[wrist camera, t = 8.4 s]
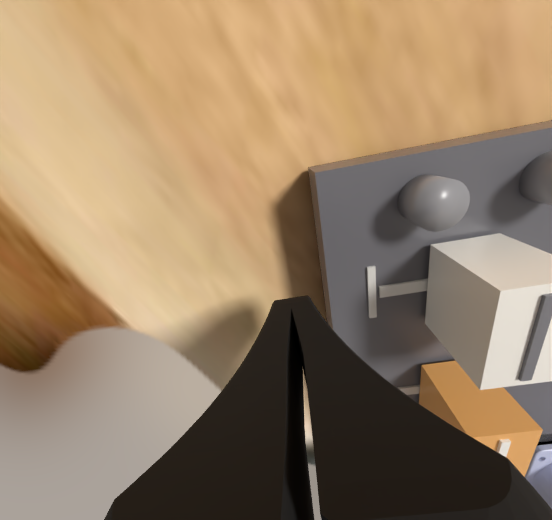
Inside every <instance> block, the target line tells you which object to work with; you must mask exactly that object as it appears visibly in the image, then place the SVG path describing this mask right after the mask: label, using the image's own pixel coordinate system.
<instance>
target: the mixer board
mask: <svg viewBox="0 0 552 520" xmlns="http://www.w3.org/2000/svg"><path fill="white" fill-rule="evenodd" d="M308 171H309V179H310V187H311V195H312V203H313V211H314V219H315V227H316V236H317V244H318V252H319V260H320V268H321V276H322V284H323V292H324V300H325V308H326V316H327V323H328V324H329V326H330V327H331V328H332V329H333V330H334V332H335V333H336V334H337V335H338V336H339V337H340V338H341V339H342V340H343V341H344V342H345V343H346V344H347V345H348V347H349V348H351V349H352V350H353V351H354V352H355V353H356V354H357V355H358V356H359V357H360V358H361V359H362V360H363V361H364V362H366V363H367V364H368V365H369V366H370V367H371V368H372V369H374V370H375V371H376V372H377V373H379V374H380V375H381V376H382V377H383V378H385V379H386V380H387V381H388V382H390V383H391V384H393V385H394V386H395V387H397V388H398V389H399V390H401V391H402V392H404V393H405V394H406V395H408V396H409V397H410V398H412V399H413V400H414V401H416V402H417V403H419V394H420V379H421V365H426V364H433V363H441V362H448V361H456V360H455V359H454V358H453V357H452V356H451V354H450V353H449V352H448V351H447V350H446V348H445V347H444V346H443V345H442V343H441V342H440V341H439V340H438V339H437V337H436V336H435V335H434V334H433V333H432V331H431V330H430V329H429V328H428V327H427V325H426V324H425V315H426V301H427V287H428V273H429V259H430V245H431V244H437V243H443V242H449V241H455V240H462V239H468V238H474V237H480V236H486V235H492V234H498V233H501V234H503V235H506V236H508V237H510V238H513V239H515V240H518V241H520V242H523V243H525V244H528V245H530V246H533V247H535V248H538V249H540V250H542V251H545V252H547V253H550V254H552V120H551V121H546V122H541V123H535V124H530V125H525V126H520V127H515V128H510V129H504V130H499V131H494V132H489V133H484V134H478V135H473V136H468V137H463V138H458V139H452V140H447V141H442V142H437V143H432V144H427V145H421V146H416V147H411V148H406V149H401V150H395V151H390V152H385V153H380V154H375V155H370V156H364V157H359V158H354V159H349V160H344V161H338V162H333V163H328V164H323V165H318V166H312V167H308ZM504 388H505V390H506V391H507V392H508V393H509V394H510V395H511V396H512V397H513V398H514V399H515V400H516V401H517V402H518V404H519V405H520V406H521V407H522V408H523V409H524V410H525V411H526V412H527V413H528V414H529V415H530V416H531V417H532V419H533V420H534V421H535V422H536V423H537V424H538V425H539V426H540V427H541V428H542V429H543V431H542V434H551V433H552V381H550V382H542V383H534V384H525V385H517V386H509V387H504ZM542 434H541V435H542Z"/></svg>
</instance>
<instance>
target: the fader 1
mask: <svg viewBox="0 0 552 520" xmlns="http://www.w3.org/2000/svg"><path fill="white" fill-rule="evenodd" d="M425 324H426V325H427V327H428V328H429V329H430V330H431V331H432V333H433V334H434V335H435V336H436V337H437V339H438V340H439V341H440V342H441V343H442V345H443V346H444V347H445V348H446V350H447V351H448V352H449V353H450V354H451V356H452V357H453V358H454V359H455V360H456V362H457V363H458V364H459V365H460V366H461V368H462V369H463V370H464V371H465V373H466V374H467V375H468V376H469V377H470V379H471V380H472V381H473V382H474V383H475V385H476V386H477V387H478V388H479V390H485V389H493V388H501V387H509V386H517V385H525V384H534V383H542V382H550V381H552V254H550V253H547V252H545V251H542V250H540V249H538V248H535V247H533V246H530V245H528V244H525V243H523V242H520V241H518V240H515V239H513V238H510V237H508V236H506V235H503V234H501V233H498V234H492V235H486V236H480V237H474V238H468V239H462V240H455V241H449V242H443V243H437V244H431V245H430V259H429V273H428V287H427V301H426V315H425Z"/></svg>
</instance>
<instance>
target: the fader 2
mask: <svg viewBox="0 0 552 520" xmlns="http://www.w3.org/2000/svg"><path fill="white" fill-rule="evenodd" d="M419 404H420V405H421V406H423V407H424V408H426V409H427V410H429V411H431V412H432V413H434V414H435V415H437V416H438V417H440V418H441V419H443V420H444V421H446V422H447V423H449V424H450V425H452V426H454V427H455V428H457V429H459V430H460V431H462V432H464V433H465V434H467V435H469V436H471V437H472V438H474V439H476V440H477V441H479V442H481V443H483V444H484V445H486V446H488V447H489V448H491V449H493V450H494V451H496V452H498V453H500V454H501V455H503V456H505V457H506V458H508V459H509V460H510V461H511V462H512V464H513V465H514V466H515V467H516V468H517V469H518V470H519V471H520V473H521V474H522V475H523V476H524V477H525V475H526V472H527V470H528V467H529V464H530V462H531V459H532V457H533V454H534V452H535V449H536V446H537V444H538V441H539V439H540V436H541V434H542V431H543V429H542V428H541V427H540V426H539V425H538V424H537V423H536V422H535V421H534V420H533V419H532V417H531V416H530V415H529V414H528V413H527V412H526V411H525V410H524V409H523V408H522V407H521V406H520V405H519V404H518V402H517V401H516V400H515V399H514V398H513V397H512V396H511V395H510V394H509V393H508V392H507V391H506V390H505V388H504V387H501V388H493V389H485V390H479V388H478V387H477V386H476V385H475V383H474V382H473V381H472V380H471V379H470V377H469V376H468V375H467V374H466V373H465V371H464V370H463V369H462V368H461V366H460V365H459V364H458V363H457V362H456V361H448V362H441V363H433V364H426V365H421V379H420V394H419Z"/></svg>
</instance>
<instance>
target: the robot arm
mask: <svg viewBox="0 0 552 520" xmlns="http://www.w3.org/2000/svg"><path fill="white" fill-rule="evenodd" d="M302 366H303V368H302ZM303 370H304V375H305V379H306V383H307V389H308V398H309V407H310V416H311V425H312V435H313V444H314V454H315V464H316V473H317V482H318V494H319V505H320V514H321V518H322V520H552V444H544V445H537V446H536V449H535V452H534V454H533V457H532V459H531V462H530V464H529V467H528V470H527V472H526V475H525V477H524V476H523V475H522V474H521V473H520V471H519V470H518V469H517V468H516V467H515V466H514V465H513V464H512V462H511V461H510V460H509V459H508V458H506V457H505V456H503V455H501V454H500V453H498V452H496V451H494V450H493V449H491V448H489V447H488V446H486V445H484V444H483V443H481V442H479V441H477V440H476V439H474V438H472V437H471V436H469V435H467V434H465V433H464V432H462V431H460V430H459V429H457V428H455V427H454V426H452V425H450V424H449V423H447V422H446V421H444V420H443V419H441V418H440V417H438V416H437V415H435V414H434V413H432V412H431V411H429V410H427V409H426V408H424V407H423V406H421V405H420V404H419V403H417V402H416V401H414V400H413V399H412V398H410V397H409V396H408V395H406V394H405V393H404V392H402V391H401V390H399V389H398V388H397V387H395V386H394V385H393V384H391V383H390V382H388V381H387V380H386V379H385V378H383V377H382V376H381V375H380V374H379V373H377V372H376V371H375V370H374V369H372V368H371V367H370V366H369V365H368V364H367V363H366V362H364V361H363V360H362V359H361V358H360V357H359V356H358V355H357V354H356V353H355V352H354V351H353V350H352V349H351V348H349V347H348V345H347V344H346V343H345V342H344V341H343V340H342V339H341V338H340V337H339V336H338V335H337V334H336V333H335V332H334V330H333V329H332V328H331V327H330V326H329V324H328V323H327V322H326V321H325V319H324V318H323V317H322V316H321V314H320V313H319V311H318V310H317V308H316V307H315V305H314V304H313V302H312V300H311V298H310V297H309V296H301V297H295V298H288V299H282V300H275V301H274V302H273V304H272V307H271V309H270V312H269V314H268V317H267V319H266V321H265V323H264V325H263V327H262V329H261V331H260V333H259V335H258V337H257V339H256V341H255V343H254V344H253V346H252V348H251V349H250V351H249V353H248V354H247V356H246V358H245V359H244V361H243V362H242V364H241V366H240V367H239V369H238V370H237V371H236V373H235V374H234V376H233V377H232V378H231V380H230V381H229V383H228V384H227V385H226V387H225V388H224V389H223V390H222V392H221V393H220V394H219V395H218V397H217V398H216V399H215V400H214V402H213V403H212V404H211V405H210V407H209V408H208V409H207V410H206V411H205V412H204V413H203V415H202V416H201V417H200V418H199V419H198V420H197V421H196V422H195V423H194V424H193V425H192V427H190V428H189V430H188V431H187V432H186V433H185V434H184V435H183V436H182V437H181V438H180V439H179V440H178V441H177V442H176V443H175V444H174V445H173V446H172V447H171V448H170V449H169V450H168V451H167V452H166V453H165V454H164V455H163V456H162V457H161V458H160V459H159V460H158V461H157V462H156V463H154V464H153V465H152V466H151V467H150V468H149V469H148V470H147V471H146V472H145V473H143V474H142V475H141V476H140V477H139V478H138V479H137V480H136V481H135V482H134V483H133V484H131V485H130V486H129V487H128V488H127V489H126V490H125V491H124V492H123V493H121V494H120V495H119V496H118V497H117V498H116V499H115V500H114V502H113V504H112V505H111V508H110V509H109V511H108V513H107V516H106V517H105V519H104V520H314V514H313V506H312V497H311V489H310V480H309V471H308V462H307V453H306V444H305V430H304V399H303Z"/></svg>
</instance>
